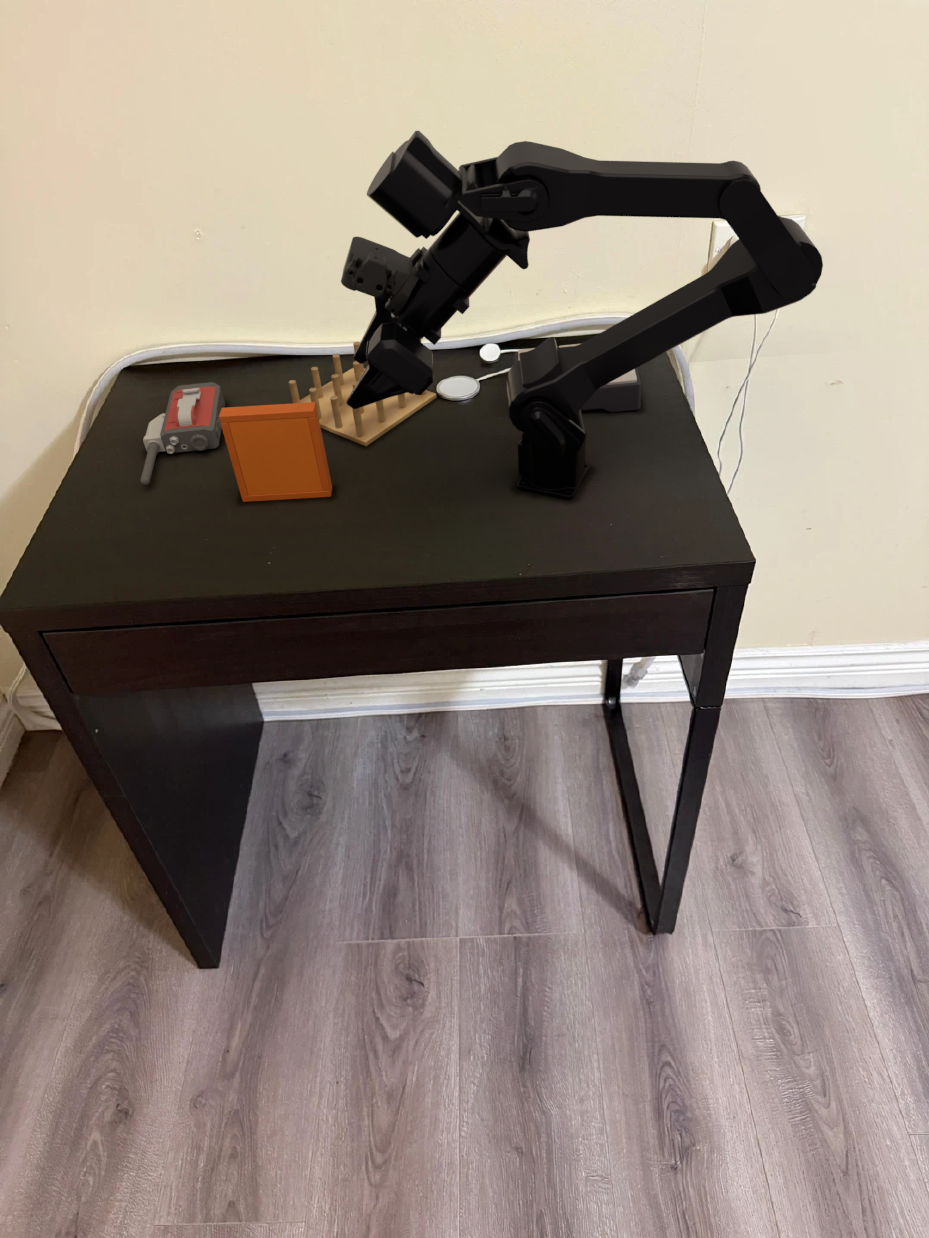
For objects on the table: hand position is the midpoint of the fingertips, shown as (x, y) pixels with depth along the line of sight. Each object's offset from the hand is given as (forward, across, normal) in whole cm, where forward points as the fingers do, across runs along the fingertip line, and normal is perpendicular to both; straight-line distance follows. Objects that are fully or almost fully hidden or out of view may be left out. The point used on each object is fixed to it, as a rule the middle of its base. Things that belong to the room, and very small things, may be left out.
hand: (353, 382), depth 92 cm
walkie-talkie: (+26, -12, -7) cm, 30 cm away
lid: (+16, 0, +3) cm, 16 cm away
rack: (+11, -18, +8) cm, 23 cm away
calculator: (-8, -19, +27) cm, 34 cm away
